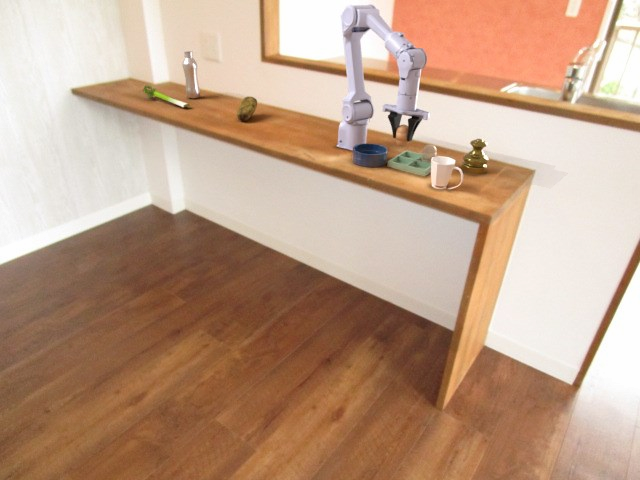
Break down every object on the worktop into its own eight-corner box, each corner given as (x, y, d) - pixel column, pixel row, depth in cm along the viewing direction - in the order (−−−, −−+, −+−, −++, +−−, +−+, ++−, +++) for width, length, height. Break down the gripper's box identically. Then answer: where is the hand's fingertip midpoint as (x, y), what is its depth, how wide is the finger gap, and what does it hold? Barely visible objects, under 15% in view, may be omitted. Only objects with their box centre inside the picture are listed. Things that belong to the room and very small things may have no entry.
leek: (180, 114, 195) (139, 96, 210) (193, 113, 200) (152, 96, 215) (181, 100, 192) (139, 83, 207) (194, 99, 198) (152, 83, 212)
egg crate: (387, 167, 144) (387, 160, 142) (405, 156, 153) (406, 150, 152) (424, 177, 137) (425, 170, 136) (441, 165, 146) (442, 158, 145)
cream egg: (418, 165, 145) (421, 144, 142) (424, 161, 148) (427, 141, 145) (431, 168, 143) (434, 147, 140) (436, 164, 146) (439, 144, 143)
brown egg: (392, 146, 141) (394, 124, 137) (398, 142, 144) (401, 121, 140) (404, 149, 139) (407, 127, 135) (410, 145, 142) (413, 124, 138)
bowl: (345, 163, 146) (346, 149, 144) (363, 154, 154) (364, 140, 151) (375, 171, 140) (377, 157, 138) (392, 161, 148) (394, 148, 146)
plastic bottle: (203, 97, 214) (199, 51, 204) (193, 100, 209) (188, 53, 199) (194, 95, 217) (188, 50, 207) (183, 98, 212) (177, 52, 202)
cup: (433, 180, 136) (437, 154, 132) (465, 189, 130) (470, 162, 126) (421, 187, 131) (425, 160, 127) (454, 197, 126) (459, 169, 122)
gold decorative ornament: (489, 170, 144) (496, 139, 139) (478, 177, 139) (485, 145, 134) (467, 164, 148) (473, 134, 143) (456, 170, 143) (462, 139, 138)
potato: (228, 120, 183) (227, 100, 179) (248, 113, 193) (247, 94, 189) (245, 123, 180) (244, 103, 176) (264, 116, 190) (263, 96, 186)
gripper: (379, 91, 134) (375, 137, 141) (425, 100, 127) (418, 147, 134) (390, 87, 139) (386, 131, 146) (435, 95, 132) (428, 141, 139)
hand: (402, 138), depth 140 cm, fingers closed on brown egg, 4 cm apart
